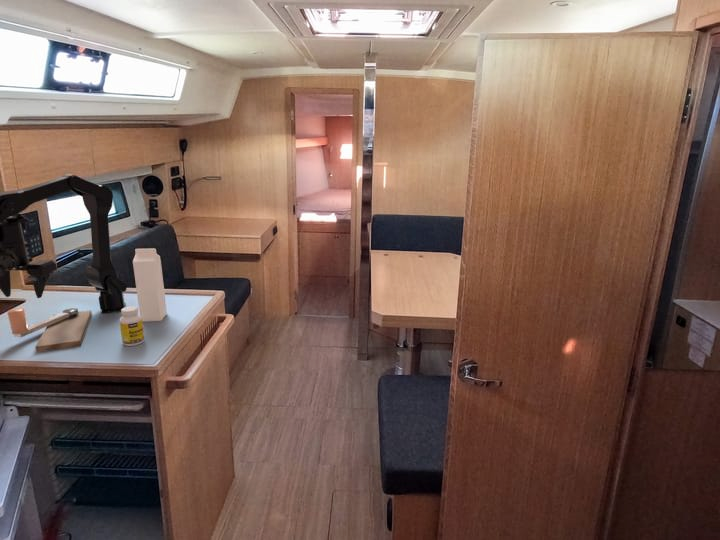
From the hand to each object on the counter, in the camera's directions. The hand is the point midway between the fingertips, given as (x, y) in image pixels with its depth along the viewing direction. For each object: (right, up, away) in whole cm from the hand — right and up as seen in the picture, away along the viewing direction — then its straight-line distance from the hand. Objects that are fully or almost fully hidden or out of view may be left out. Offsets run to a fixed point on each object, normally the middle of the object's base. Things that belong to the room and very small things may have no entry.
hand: (23, 297), depth 125 cm
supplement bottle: (+30, -12, 0) cm, 33 cm away
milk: (+28, -8, +17) cm, 34 cm away
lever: (+2, -8, +6) cm, 11 cm away
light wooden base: (+8, -10, +6) cm, 14 cm away
